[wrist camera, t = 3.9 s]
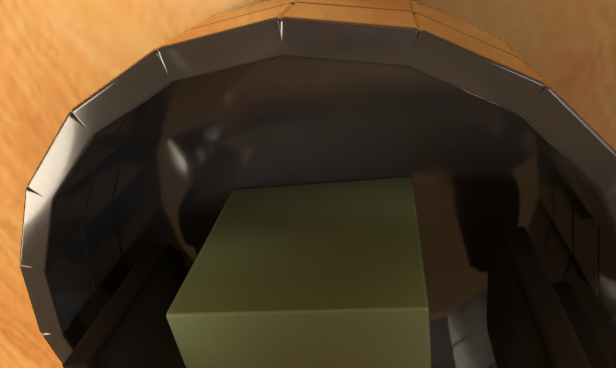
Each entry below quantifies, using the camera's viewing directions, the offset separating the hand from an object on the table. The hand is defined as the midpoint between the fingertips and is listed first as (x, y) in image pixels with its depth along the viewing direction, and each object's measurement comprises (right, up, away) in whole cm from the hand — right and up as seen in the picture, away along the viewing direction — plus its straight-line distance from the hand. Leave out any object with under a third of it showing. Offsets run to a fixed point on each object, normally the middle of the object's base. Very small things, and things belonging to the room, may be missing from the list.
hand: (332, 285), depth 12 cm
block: (0, +1, +1) cm, 1 cm away
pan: (0, +1, +1) cm, 2 cm away
